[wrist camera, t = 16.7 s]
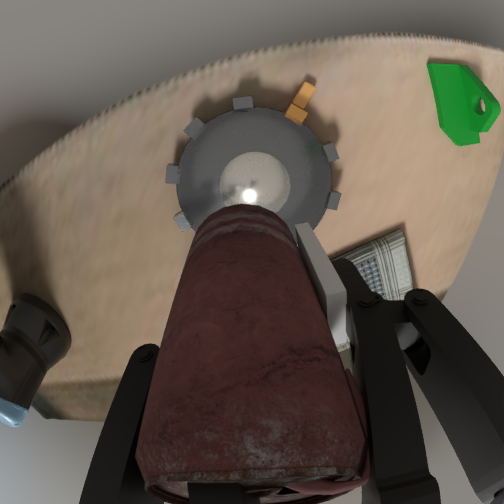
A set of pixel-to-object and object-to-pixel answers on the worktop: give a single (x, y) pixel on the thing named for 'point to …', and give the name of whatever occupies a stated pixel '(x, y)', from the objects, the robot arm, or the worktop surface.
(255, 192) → the sprocket
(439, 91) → the bracket
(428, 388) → the robot arm
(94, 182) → the worktop surface
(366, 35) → the worktop surface
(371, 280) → the dish towel
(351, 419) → the can
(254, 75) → the worktop surface
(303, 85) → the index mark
